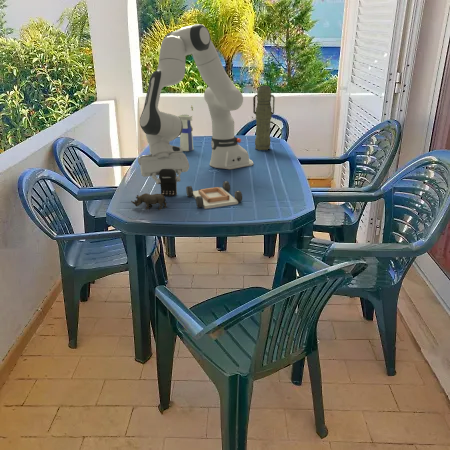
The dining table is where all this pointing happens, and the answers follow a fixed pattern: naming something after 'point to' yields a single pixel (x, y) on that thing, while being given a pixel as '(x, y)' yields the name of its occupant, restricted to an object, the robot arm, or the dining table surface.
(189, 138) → the water bottle
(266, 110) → the thermos
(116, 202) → the dining table surface
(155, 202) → the rhino figurine
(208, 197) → the chassis
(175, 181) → the battery charger
